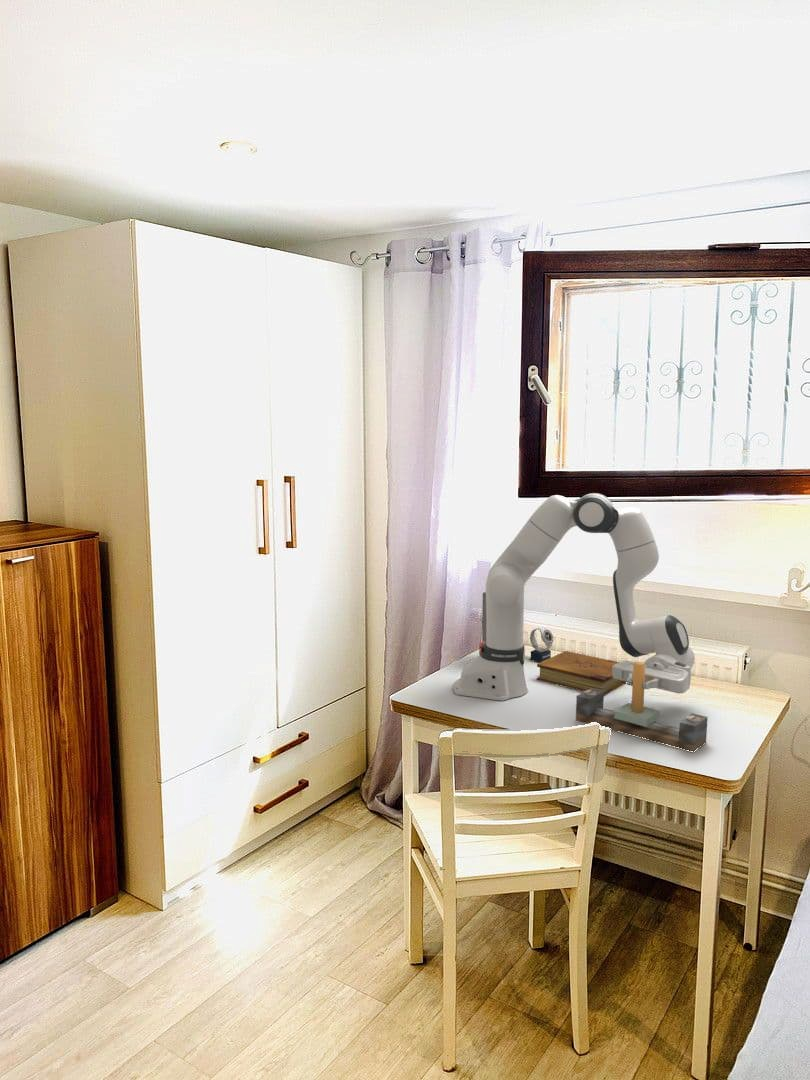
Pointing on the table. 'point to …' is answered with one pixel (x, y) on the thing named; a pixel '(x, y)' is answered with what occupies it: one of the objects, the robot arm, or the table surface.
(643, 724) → the slider with orange handle
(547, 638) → the watch
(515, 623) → the robot arm
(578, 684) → the diary
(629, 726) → the rail
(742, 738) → the table surface
